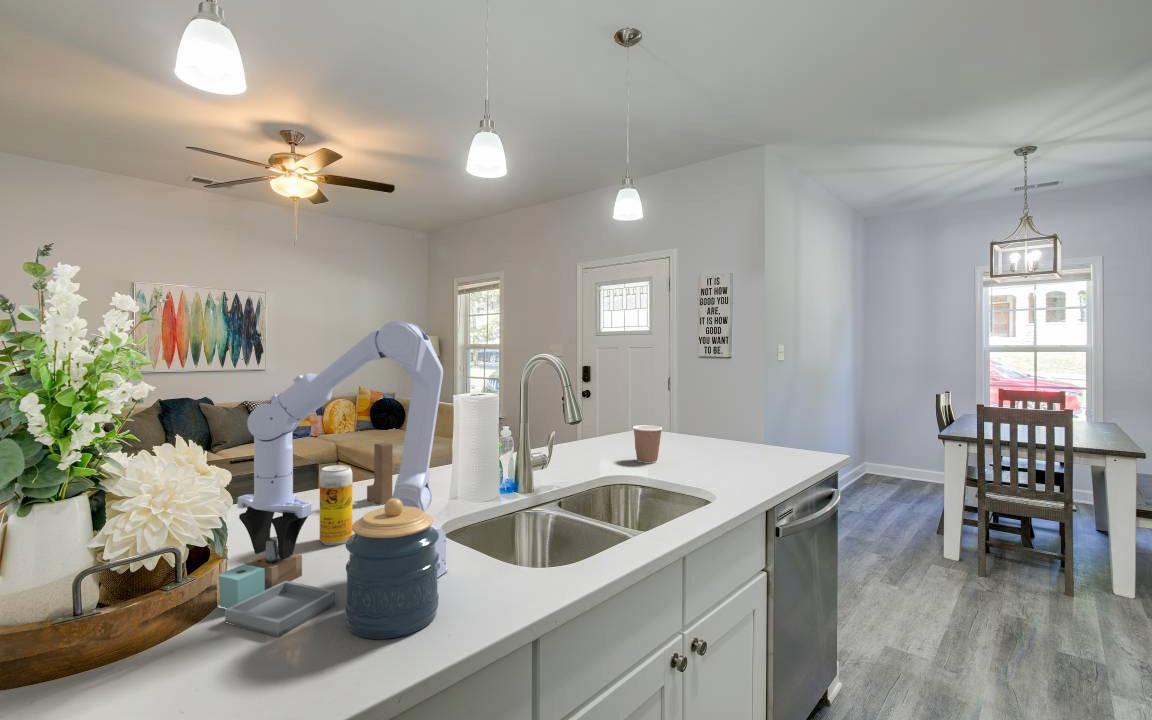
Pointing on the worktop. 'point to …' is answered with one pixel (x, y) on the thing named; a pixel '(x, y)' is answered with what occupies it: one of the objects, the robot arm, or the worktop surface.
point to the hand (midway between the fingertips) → (273, 554)
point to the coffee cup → (647, 442)
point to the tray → (280, 608)
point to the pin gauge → (271, 551)
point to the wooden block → (381, 474)
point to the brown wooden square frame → (279, 569)
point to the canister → (392, 572)
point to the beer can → (335, 504)
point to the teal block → (240, 584)
